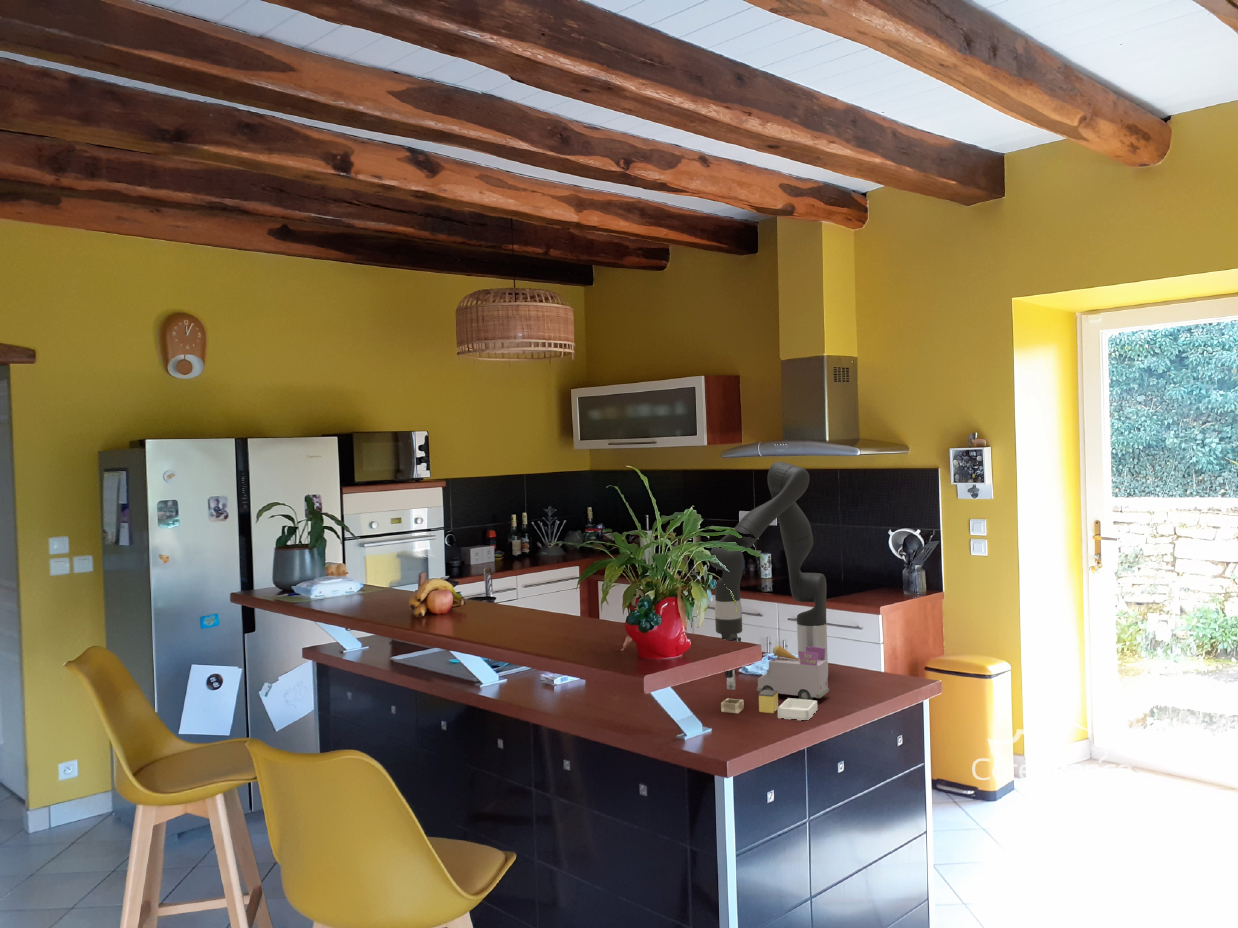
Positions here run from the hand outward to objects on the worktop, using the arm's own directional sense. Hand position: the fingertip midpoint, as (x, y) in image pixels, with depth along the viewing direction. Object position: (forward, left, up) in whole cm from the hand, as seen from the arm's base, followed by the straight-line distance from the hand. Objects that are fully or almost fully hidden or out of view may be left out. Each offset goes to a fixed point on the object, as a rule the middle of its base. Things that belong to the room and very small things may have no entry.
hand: (730, 675), depth 264 cm
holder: (0, 0, -10) cm, 10 cm away
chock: (-3, +10, -10) cm, 14 cm away
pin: (0, 0, -4) cm, 4 cm away
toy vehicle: (-18, +13, -10) cm, 24 cm away
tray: (-2, +19, -10) cm, 21 cm away
